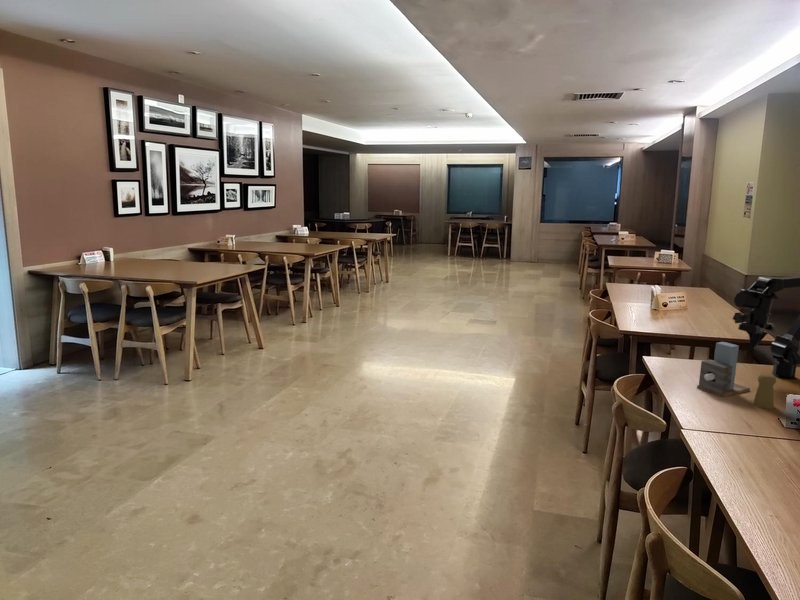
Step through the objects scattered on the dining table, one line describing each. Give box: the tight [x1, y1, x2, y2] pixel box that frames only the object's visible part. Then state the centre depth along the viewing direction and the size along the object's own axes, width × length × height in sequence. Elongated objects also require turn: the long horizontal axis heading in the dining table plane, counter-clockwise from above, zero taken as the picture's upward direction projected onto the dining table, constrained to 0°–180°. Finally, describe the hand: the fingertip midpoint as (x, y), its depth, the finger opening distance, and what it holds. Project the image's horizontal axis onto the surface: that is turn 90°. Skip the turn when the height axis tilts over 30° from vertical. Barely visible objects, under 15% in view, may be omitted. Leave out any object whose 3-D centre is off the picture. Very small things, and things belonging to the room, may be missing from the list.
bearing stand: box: [696, 359, 751, 398], centre depth 209 cm, size 16×10×11 cm, turn 116°
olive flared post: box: [752, 373, 777, 410], centre depth 194 cm, size 6×6×11 cm
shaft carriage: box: [704, 341, 740, 389], centre depth 207 cm, size 11×6×16 cm, turn 116°
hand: (752, 348), depth 222 cm, fingers closed
